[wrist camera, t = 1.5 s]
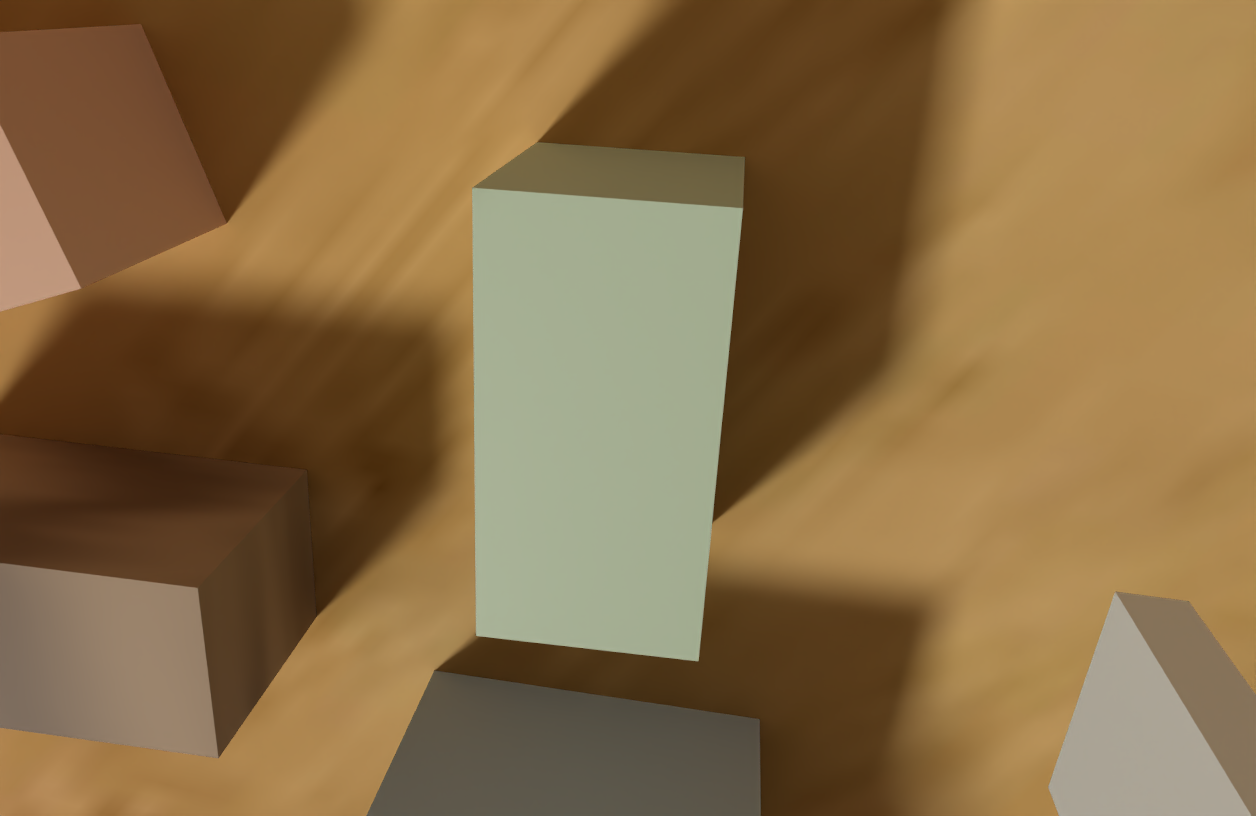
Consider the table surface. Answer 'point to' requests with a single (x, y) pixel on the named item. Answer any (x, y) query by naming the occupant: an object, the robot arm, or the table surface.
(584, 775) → the slate block
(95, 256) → the terracotta block
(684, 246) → the sage block
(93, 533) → the walnut block
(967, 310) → the table surface
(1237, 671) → the robot arm
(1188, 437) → the table surface
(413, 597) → the table surface
